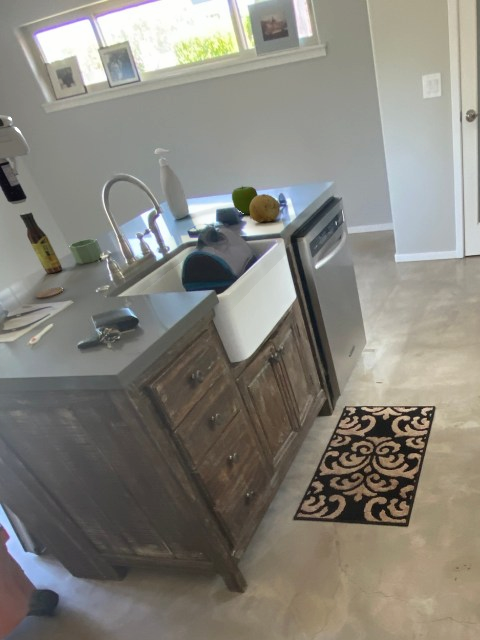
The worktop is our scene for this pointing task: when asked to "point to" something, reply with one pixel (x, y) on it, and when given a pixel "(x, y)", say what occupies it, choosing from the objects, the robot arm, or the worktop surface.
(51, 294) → the coaster
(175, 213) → the soap bottle
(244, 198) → the apple
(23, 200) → the beverage can
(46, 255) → the sauce bottle
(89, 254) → the green bowl
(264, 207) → the potato
